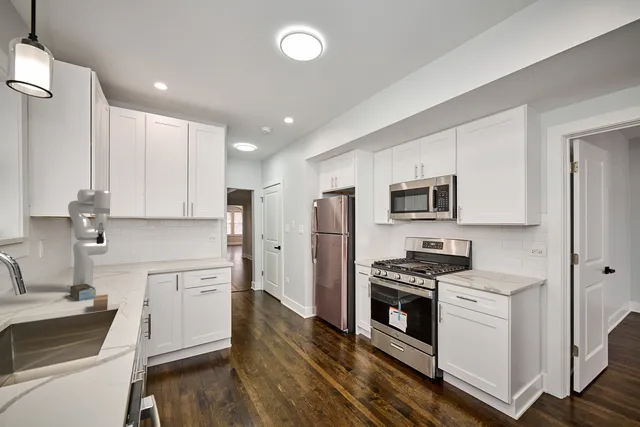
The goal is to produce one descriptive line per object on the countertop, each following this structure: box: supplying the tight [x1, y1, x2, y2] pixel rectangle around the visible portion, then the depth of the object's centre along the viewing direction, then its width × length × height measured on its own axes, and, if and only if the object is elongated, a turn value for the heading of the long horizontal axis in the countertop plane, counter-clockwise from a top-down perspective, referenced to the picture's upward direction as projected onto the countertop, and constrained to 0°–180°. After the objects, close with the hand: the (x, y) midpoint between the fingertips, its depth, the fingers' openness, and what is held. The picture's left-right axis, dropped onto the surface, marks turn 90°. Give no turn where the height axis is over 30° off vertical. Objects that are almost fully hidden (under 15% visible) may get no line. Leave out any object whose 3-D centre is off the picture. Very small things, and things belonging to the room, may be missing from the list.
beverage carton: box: [69, 284, 97, 302], centre depth 162 cm, size 8×19×7 cm, turn 52°
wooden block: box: [92, 293, 109, 313], centre depth 142 cm, size 6×6×12 cm
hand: (99, 243), depth 160 cm, fingers closed
